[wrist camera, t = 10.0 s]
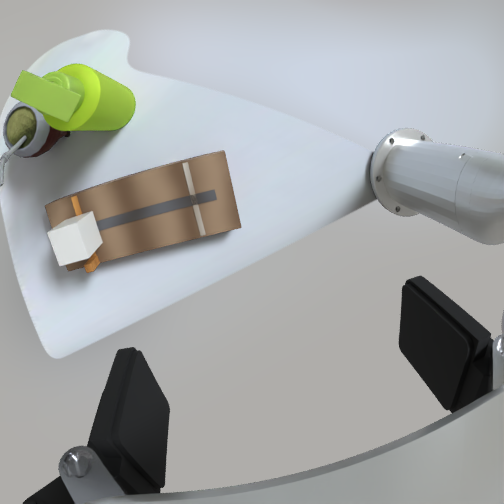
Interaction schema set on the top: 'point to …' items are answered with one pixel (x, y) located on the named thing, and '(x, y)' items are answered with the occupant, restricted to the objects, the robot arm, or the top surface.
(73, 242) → the fader knob
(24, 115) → the mate gourd
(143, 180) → the fader console
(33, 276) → the top surface
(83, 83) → the soap dispenser
